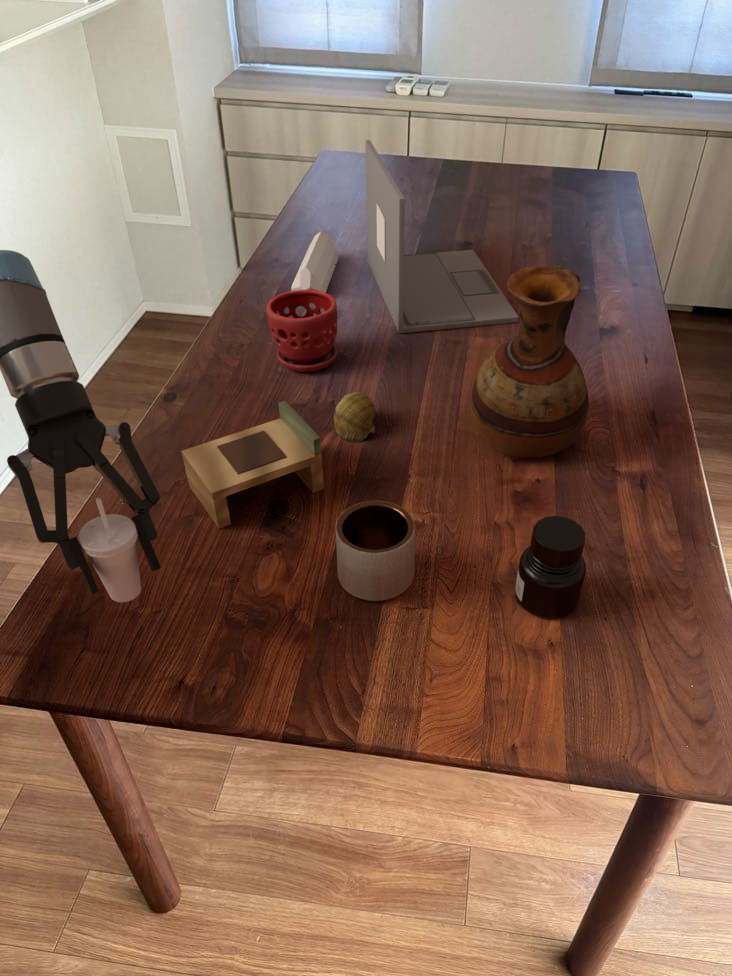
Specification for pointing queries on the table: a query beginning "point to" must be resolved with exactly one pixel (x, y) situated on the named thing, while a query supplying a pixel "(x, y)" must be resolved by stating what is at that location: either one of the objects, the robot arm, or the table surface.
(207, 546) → the table surface
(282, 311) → the flower pot
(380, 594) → the planter
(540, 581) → the ink bottle
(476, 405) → the clay vase
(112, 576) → the smoothie
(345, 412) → the seashell
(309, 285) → the white triangular prism
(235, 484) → the small wooden bench
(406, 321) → the laptop
